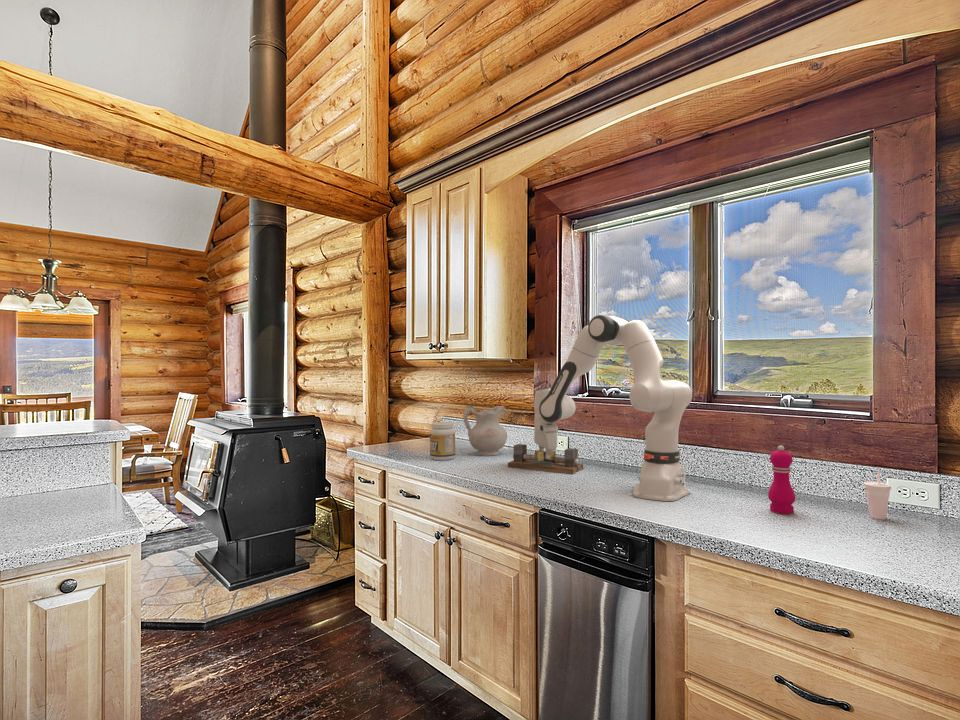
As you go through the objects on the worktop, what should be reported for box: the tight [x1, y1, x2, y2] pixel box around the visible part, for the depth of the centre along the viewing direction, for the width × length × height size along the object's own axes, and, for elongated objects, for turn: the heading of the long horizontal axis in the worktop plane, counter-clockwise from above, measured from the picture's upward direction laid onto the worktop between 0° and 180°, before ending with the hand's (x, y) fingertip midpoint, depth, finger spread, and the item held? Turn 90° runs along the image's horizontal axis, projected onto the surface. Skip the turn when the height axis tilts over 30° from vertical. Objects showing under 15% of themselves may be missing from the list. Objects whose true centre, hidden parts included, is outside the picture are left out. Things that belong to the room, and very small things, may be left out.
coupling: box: [534, 449, 557, 461], centre depth 225 cm, size 4×8×4 cm, turn 101°
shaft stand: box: [507, 443, 584, 475], centre depth 225 cm, size 12×30×9 cm, turn 59°
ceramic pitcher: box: [462, 404, 508, 457], centre depth 260 cm, size 22×20×25 cm
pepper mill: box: [767, 445, 796, 515], centre depth 158 cm, size 7×7×20 cm
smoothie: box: [863, 468, 892, 521], centre depth 151 cm, size 6×6×14 cm
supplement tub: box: [429, 421, 456, 461], centre depth 250 cm, size 12×12×17 cm
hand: (545, 457), depth 225 cm, fingers open, 5 cm apart
